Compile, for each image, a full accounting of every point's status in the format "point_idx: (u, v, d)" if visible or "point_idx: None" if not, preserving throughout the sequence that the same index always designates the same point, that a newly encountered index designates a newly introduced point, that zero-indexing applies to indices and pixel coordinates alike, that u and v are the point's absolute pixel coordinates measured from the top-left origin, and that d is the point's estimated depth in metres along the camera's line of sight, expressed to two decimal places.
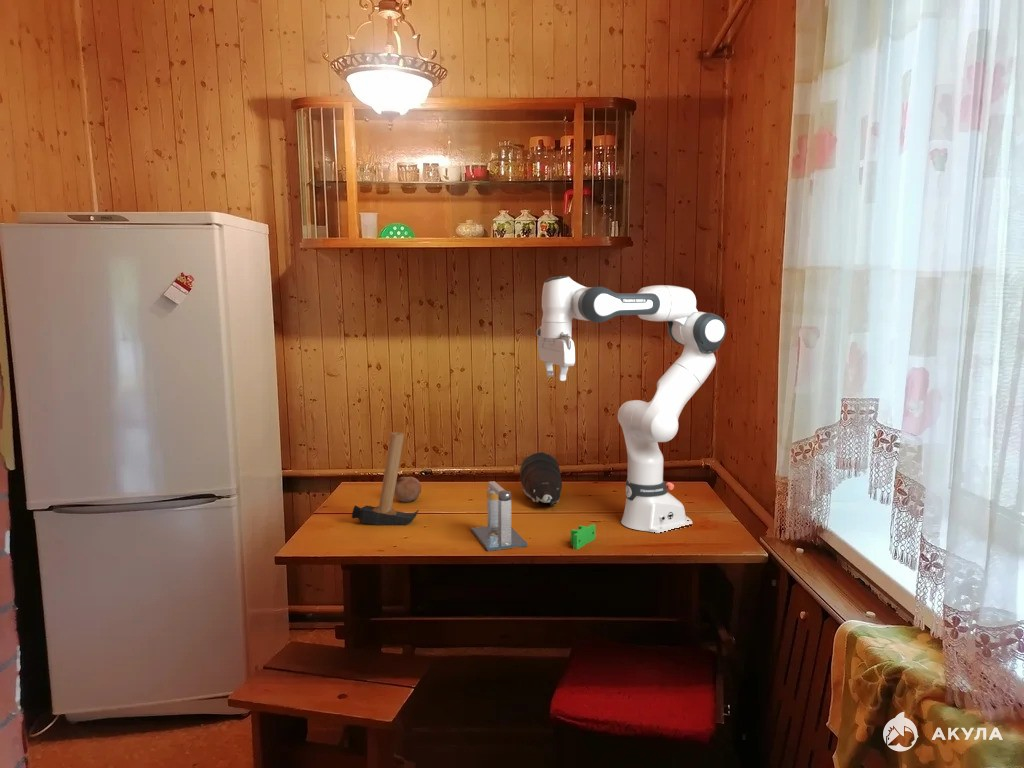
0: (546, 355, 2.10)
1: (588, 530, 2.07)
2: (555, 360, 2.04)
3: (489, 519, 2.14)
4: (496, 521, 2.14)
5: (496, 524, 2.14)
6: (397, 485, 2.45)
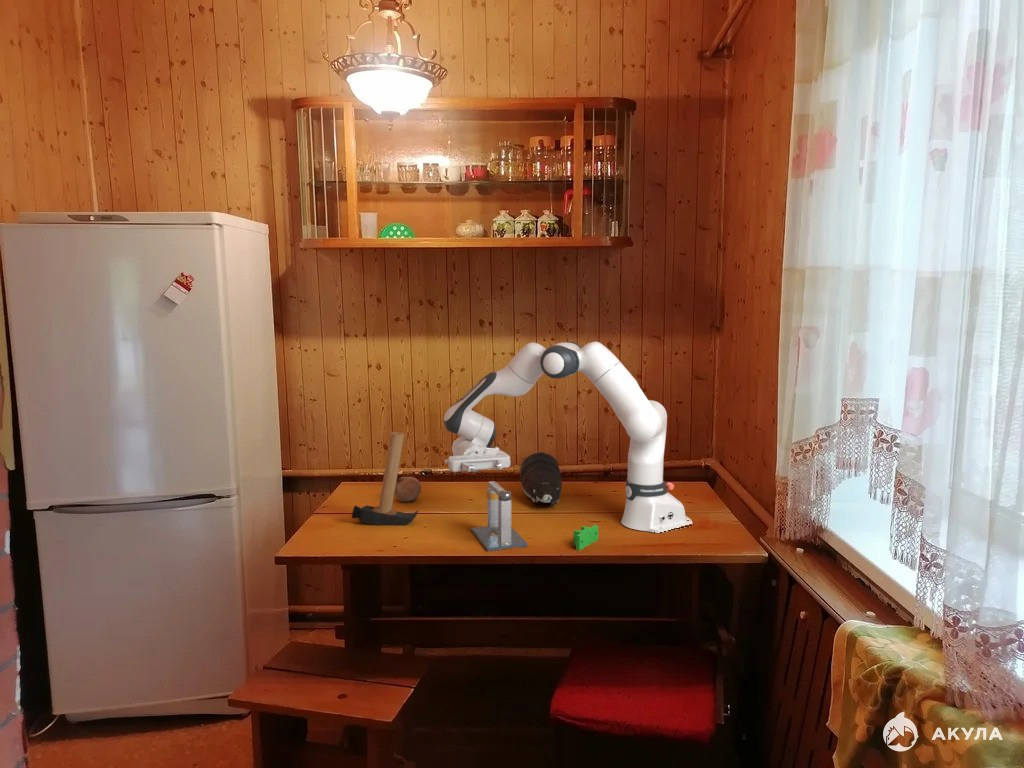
0: None
1: (591, 531, 2.07)
2: None
3: (489, 519, 2.14)
4: (496, 521, 2.14)
5: (496, 524, 2.14)
6: (397, 485, 2.45)
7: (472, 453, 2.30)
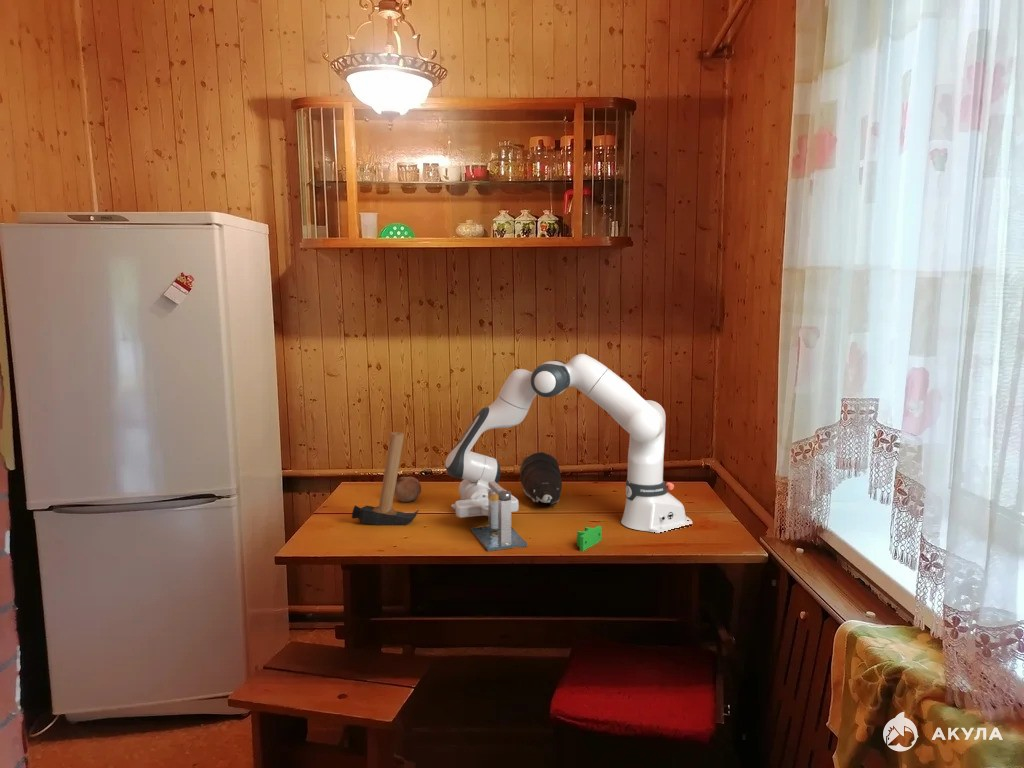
0: None
1: (594, 531, 2.06)
2: None
3: (490, 520, 2.13)
4: (497, 522, 2.13)
5: (497, 525, 2.13)
6: (397, 485, 2.45)
7: (479, 497, 2.25)
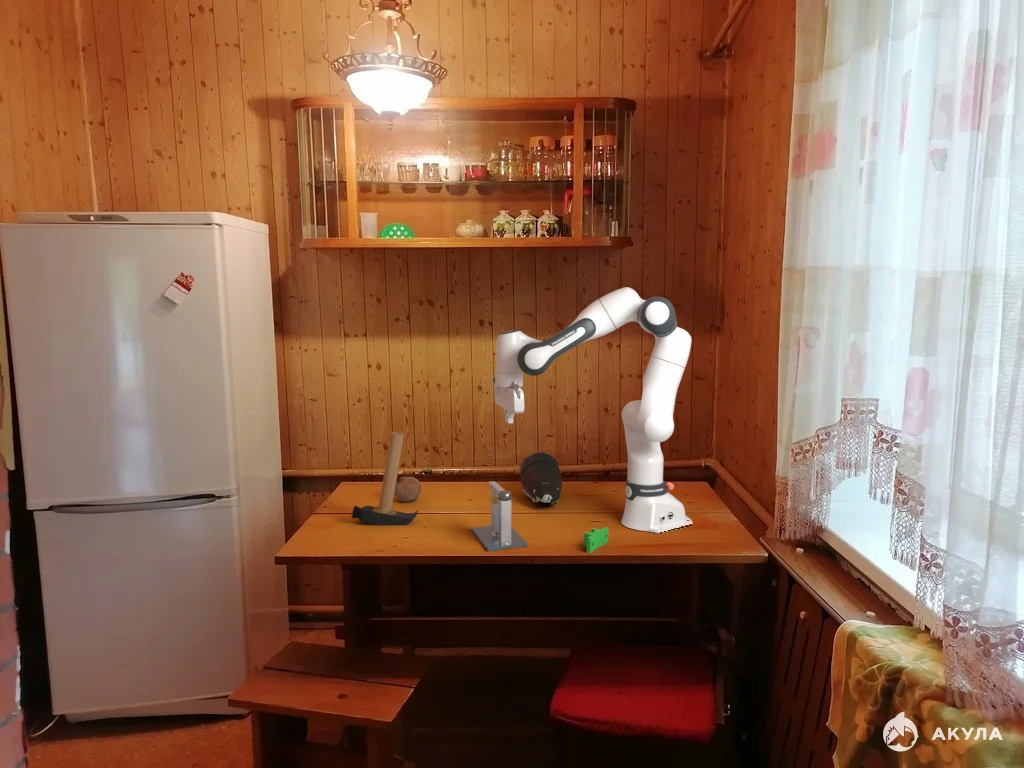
0: (500, 401, 2.31)
1: (601, 533, 2.05)
2: (507, 407, 2.24)
3: (493, 523, 2.11)
4: None
5: None
6: (397, 485, 2.45)
7: None
